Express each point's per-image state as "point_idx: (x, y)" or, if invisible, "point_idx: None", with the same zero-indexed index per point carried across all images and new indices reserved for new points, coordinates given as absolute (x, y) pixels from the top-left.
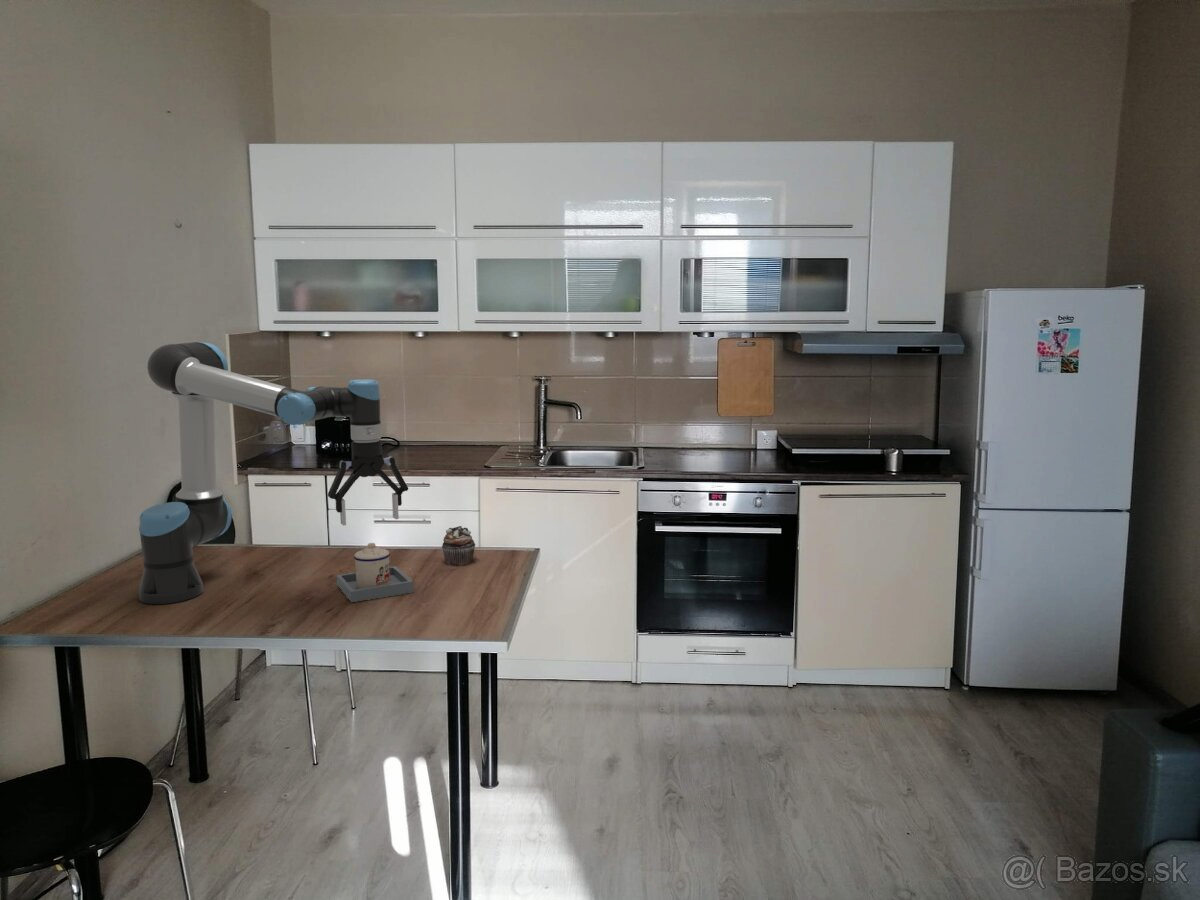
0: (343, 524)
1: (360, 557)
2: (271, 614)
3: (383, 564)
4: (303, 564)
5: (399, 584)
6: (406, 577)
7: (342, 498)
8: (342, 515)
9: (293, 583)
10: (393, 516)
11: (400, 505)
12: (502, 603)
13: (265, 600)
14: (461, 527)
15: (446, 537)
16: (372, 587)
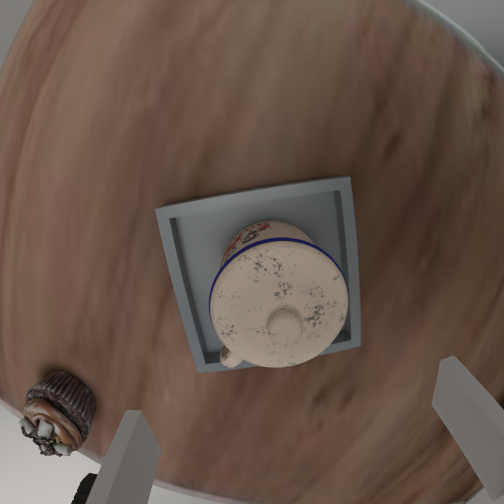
0: (455, 359)
1: (333, 266)
2: (488, 180)
3: (241, 247)
4: (371, 460)
5: (198, 200)
6: (171, 257)
7: (497, 497)
8: (483, 391)
9: (421, 371)
10: (156, 446)
11: (91, 473)
12: (12, 73)
13: (484, 278)
14: (41, 451)
15: (69, 435)
16: (284, 192)
